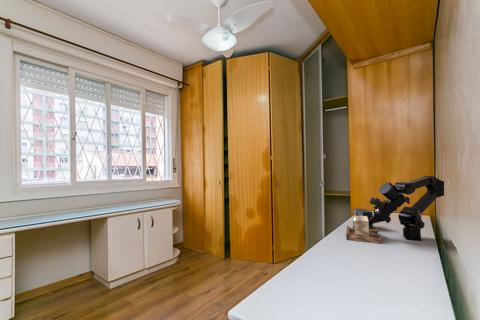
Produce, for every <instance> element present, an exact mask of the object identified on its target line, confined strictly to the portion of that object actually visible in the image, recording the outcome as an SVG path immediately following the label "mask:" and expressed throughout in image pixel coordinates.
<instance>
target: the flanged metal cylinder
mask: <svg viewBox="0 0 480 320" xmlns="http://www.w3.org/2000/svg"><path fill="white" fill-rule="evenodd" d="M355 216H357V212H355ZM351 228H355V217H354V216H352V227H351Z"/></svg>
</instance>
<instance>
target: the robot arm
mask: <svg viewBox="0 0 480 320" xmlns="http://www.w3.org/2000/svg"><path fill="white" fill-rule="evenodd" d="M444 182H445V181H444V180H441V179H439V178H437V177H436V176H434V175H423V176H421V177H418V178H416V179H412V180H409V181H396V182H395V183H394V185H393V183H391V182H388V181H386V182H385V183H383V184H382V185H381V186H379V188H378V193H380V194H381V195H382V196H383V197H384V198H386V199H387V200H386V199H384V200H383V201H382V200H381V199H380V198H378V197H374V196H371V197H370V199H369V201H368V203H369V204H370V205H373V211H372V212H373V216H372V217H371V219H370V220H369V225H370V224H373V225H374V224H377V223H382V222H386V223H387V224H389V223H390V222H391V221H392V219H391V218H392V217H391V215H392V213H394V212H397V211H398V209H399V208H401V206H403V205H404V204H405V203H406V204H408V205H409V204H411V201H410V200H411V198H410V197H408V196H409V195H412V194H413V193H415V192H416V190H417V189H420V188H422V187H425V188H426V191H425V193H424V194H423V195H422V196H421V197H420V198H419V199H418V200H417V201H416V202H414V204H413V205H412V206H411V207H410V206H403V208H402V209H401V210H399V213H398V220H399V221H398V222H399V223H400V225H402V226H403V227H402V236H403V237H404V239H405V240H409V241H410V240H411V241H419V242H422V241H423V239H422V233H421V229H423V228H425V224H426V223H425V222H424V221H423V220H422V215H423V213H424V212H425V211H426V210H427V209H428V208H429V207H430V205H432V204H433V202H434V201H435V200H436V199H438V198H441V197H445V195H444ZM405 195H406V196H405ZM407 195H408V196H407Z"/></svg>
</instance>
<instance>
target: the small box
mask: <svg viewBox="0 0 480 320" xmlns="http://www.w3.org/2000/svg"><path fill="white" fill-rule="evenodd" d="M355 212H357V216H367V218H368V222H369V220H370V219H371V217H372V216H373V214H374V211H371V210H367V209H365V208H353V217H355ZM369 230H374V224H370V225H369Z"/></svg>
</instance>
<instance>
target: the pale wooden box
mask: <svg viewBox="0 0 480 320" xmlns="http://www.w3.org/2000/svg"><path fill="white" fill-rule="evenodd" d="M355 236H360V237H369V222H368V218H367V216H355Z"/></svg>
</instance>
